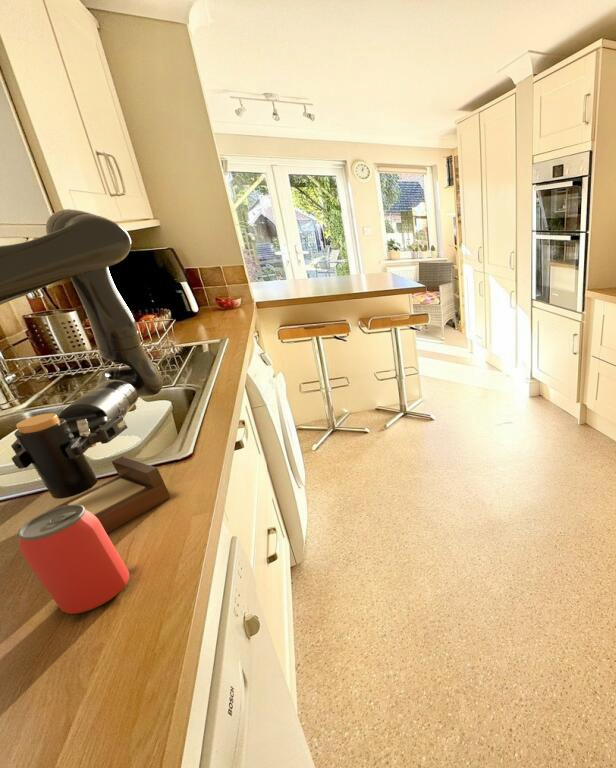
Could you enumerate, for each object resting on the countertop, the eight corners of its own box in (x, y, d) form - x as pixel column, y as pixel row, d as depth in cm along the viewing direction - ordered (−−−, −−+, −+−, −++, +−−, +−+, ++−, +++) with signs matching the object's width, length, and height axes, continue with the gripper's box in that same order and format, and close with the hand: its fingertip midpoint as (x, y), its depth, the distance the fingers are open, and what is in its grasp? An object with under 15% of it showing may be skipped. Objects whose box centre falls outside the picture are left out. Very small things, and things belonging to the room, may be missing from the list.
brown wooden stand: (55, 526, 64) (36, 495, 62) (136, 484, 74) (122, 456, 71) (90, 543, 61) (71, 511, 58) (171, 497, 70) (157, 467, 68)
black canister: (45, 494, 69) (2, 425, 63) (87, 475, 73) (50, 409, 68) (62, 502, 67) (20, 431, 61) (104, 481, 71) (68, 414, 66)
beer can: (135, 590, 53) (93, 517, 48) (64, 627, 48) (9, 551, 43) (127, 563, 57) (87, 494, 52) (60, 596, 52) (10, 523, 48)
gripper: (37, 403, 75) (-31, 449, 61) (134, 388, 80) (92, 427, 66) (57, 438, 78) (-4, 490, 64) (149, 422, 83) (112, 467, 69)
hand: (45, 458), depth 65 cm, fingers closed on black canister, 5 cm apart
